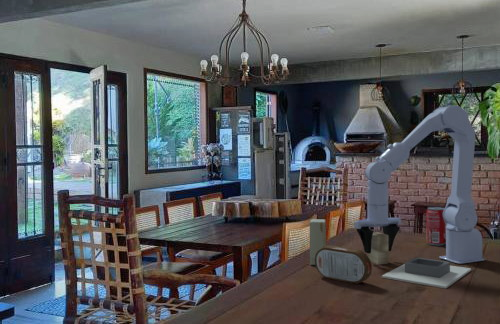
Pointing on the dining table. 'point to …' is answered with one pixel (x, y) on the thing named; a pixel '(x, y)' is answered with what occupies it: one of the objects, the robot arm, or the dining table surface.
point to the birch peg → (379, 248)
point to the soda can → (435, 226)
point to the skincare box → (317, 237)
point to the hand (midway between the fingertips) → (377, 251)
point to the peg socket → (428, 272)
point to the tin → (343, 264)
